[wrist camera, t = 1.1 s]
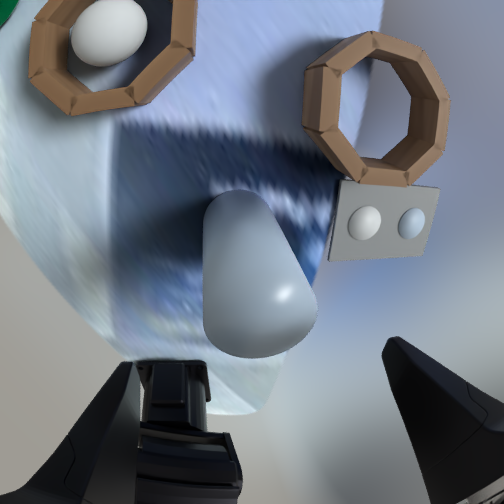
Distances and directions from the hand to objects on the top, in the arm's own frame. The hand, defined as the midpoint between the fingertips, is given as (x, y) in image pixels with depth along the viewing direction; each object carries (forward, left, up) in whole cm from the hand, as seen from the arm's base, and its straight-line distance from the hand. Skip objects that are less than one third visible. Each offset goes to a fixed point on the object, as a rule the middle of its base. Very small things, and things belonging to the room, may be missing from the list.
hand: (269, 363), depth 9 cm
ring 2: (+8, -8, -11) cm, 16 cm away
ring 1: (+12, +7, -11) cm, 18 cm away
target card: (0, -11, -11) cm, 16 cm away
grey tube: (0, 0, -11) cm, 11 cm away
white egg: (+12, +7, -11) cm, 18 cm away
